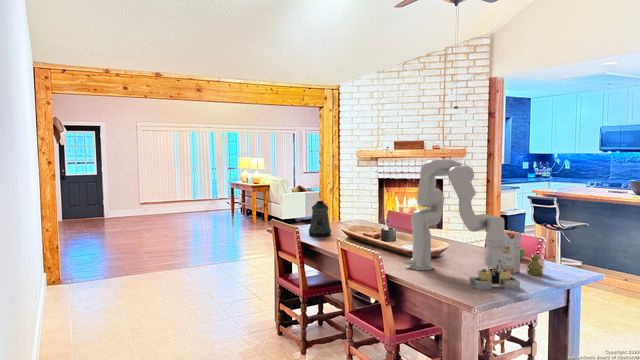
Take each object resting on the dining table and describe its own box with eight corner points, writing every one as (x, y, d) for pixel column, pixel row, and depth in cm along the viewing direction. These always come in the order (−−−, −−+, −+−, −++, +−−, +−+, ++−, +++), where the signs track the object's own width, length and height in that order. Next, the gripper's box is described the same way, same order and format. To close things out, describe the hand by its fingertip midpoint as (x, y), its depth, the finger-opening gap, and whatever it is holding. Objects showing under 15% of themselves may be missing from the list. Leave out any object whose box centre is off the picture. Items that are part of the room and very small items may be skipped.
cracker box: (489, 268, 245) (490, 229, 244) (496, 266, 249) (497, 228, 247) (513, 274, 234) (514, 233, 232) (520, 272, 237) (521, 232, 235)
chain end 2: (504, 289, 209) (504, 281, 209) (496, 283, 218) (496, 276, 218) (519, 289, 209) (519, 281, 209) (510, 283, 218) (510, 275, 218)
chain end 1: (476, 290, 208) (476, 282, 208) (469, 284, 217) (469, 276, 217) (491, 289, 209) (492, 282, 208) (483, 283, 218) (483, 276, 217)
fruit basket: (516, 256, 271) (516, 237, 270) (527, 259, 262) (527, 240, 262) (500, 258, 267) (500, 238, 266) (510, 261, 259) (511, 241, 258)
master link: (480, 284, 211) (480, 270, 211) (477, 282, 214) (478, 268, 214) (510, 284, 212) (510, 270, 212) (507, 282, 215) (507, 268, 215)
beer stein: (310, 237, 328) (310, 203, 326) (306, 232, 347) (306, 199, 345) (333, 236, 331) (333, 202, 329) (327, 231, 350) (327, 199, 348)
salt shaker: (543, 276, 229) (544, 256, 228) (527, 275, 232) (527, 255, 231) (542, 272, 236) (542, 253, 235) (526, 271, 239) (526, 252, 238)
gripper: (479, 239, 220) (478, 277, 221) (494, 247, 204) (493, 288, 205) (495, 239, 220) (494, 277, 222) (511, 247, 204) (509, 287, 205)
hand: (493, 282), depth 213 cm, fingers closed on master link, 3 cm apart
